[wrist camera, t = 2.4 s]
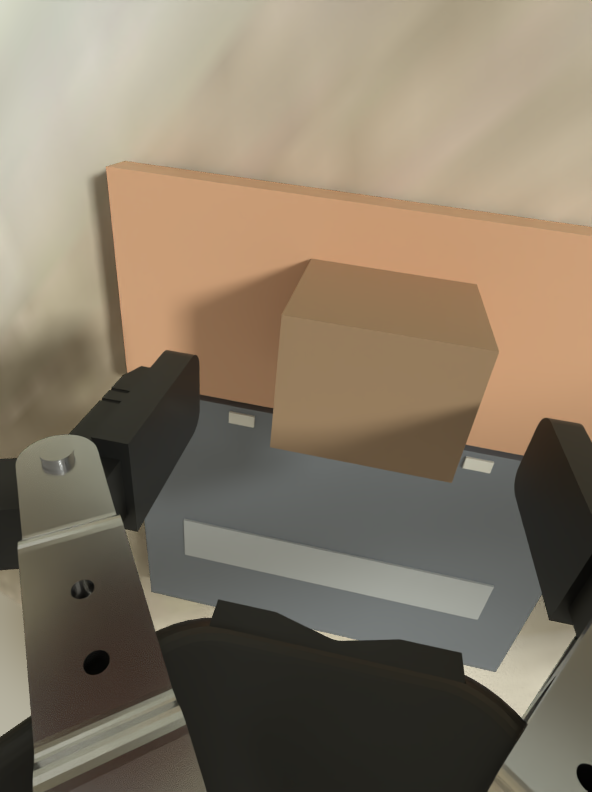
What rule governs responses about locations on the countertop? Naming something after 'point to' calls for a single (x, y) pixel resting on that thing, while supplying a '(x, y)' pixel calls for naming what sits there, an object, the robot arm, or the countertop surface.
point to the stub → (357, 313)
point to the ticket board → (344, 539)
